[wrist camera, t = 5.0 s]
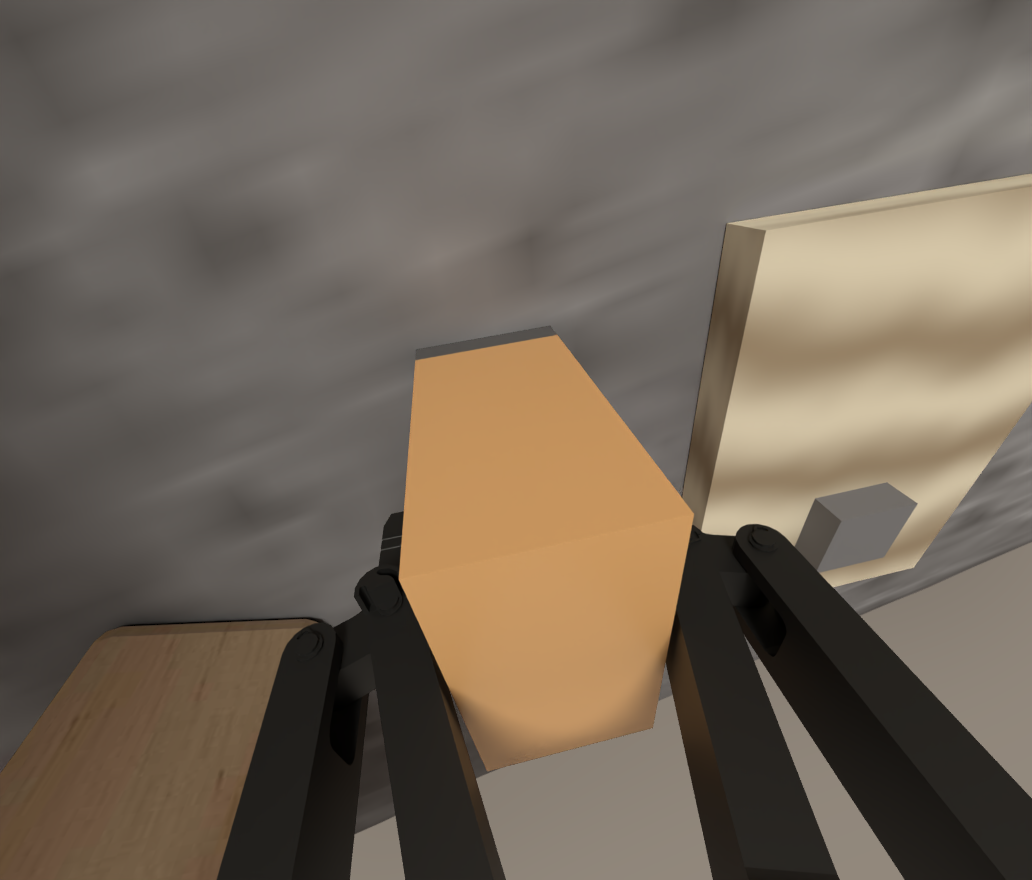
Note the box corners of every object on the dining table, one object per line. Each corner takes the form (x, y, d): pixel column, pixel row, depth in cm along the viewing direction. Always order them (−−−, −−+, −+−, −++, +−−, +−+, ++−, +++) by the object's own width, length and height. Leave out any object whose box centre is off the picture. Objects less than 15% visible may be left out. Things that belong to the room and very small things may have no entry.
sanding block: (416, 349, 15) (398, 579, 6) (550, 326, 15) (693, 514, 7) (463, 522, 20) (487, 771, 12) (562, 501, 20) (652, 728, 12)
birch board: (727, 223, 14) (765, 230, 12) (1122, 158, 15) (1205, 157, 14) (665, 596, 27) (681, 624, 25) (885, 544, 28) (913, 567, 26)
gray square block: (815, 498, 20) (841, 521, 19) (886, 482, 21) (917, 503, 19) (792, 550, 23) (815, 573, 21) (858, 535, 23) (883, 557, 22)
